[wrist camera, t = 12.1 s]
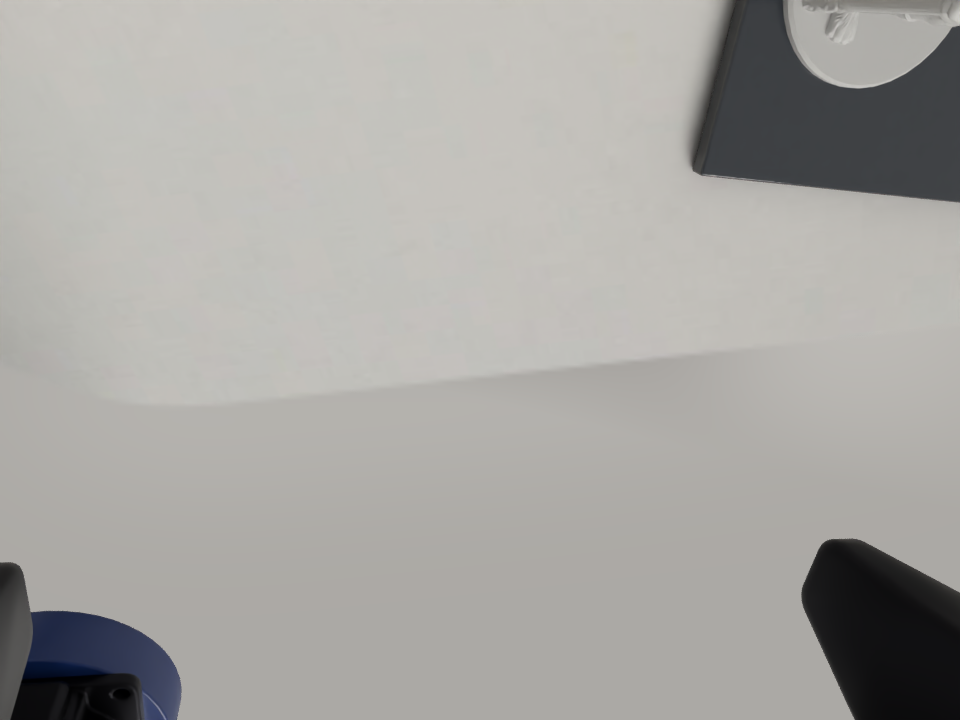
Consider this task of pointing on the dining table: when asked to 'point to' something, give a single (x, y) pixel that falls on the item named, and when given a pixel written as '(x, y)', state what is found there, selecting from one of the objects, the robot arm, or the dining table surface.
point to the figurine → (866, 36)
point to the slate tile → (829, 118)
